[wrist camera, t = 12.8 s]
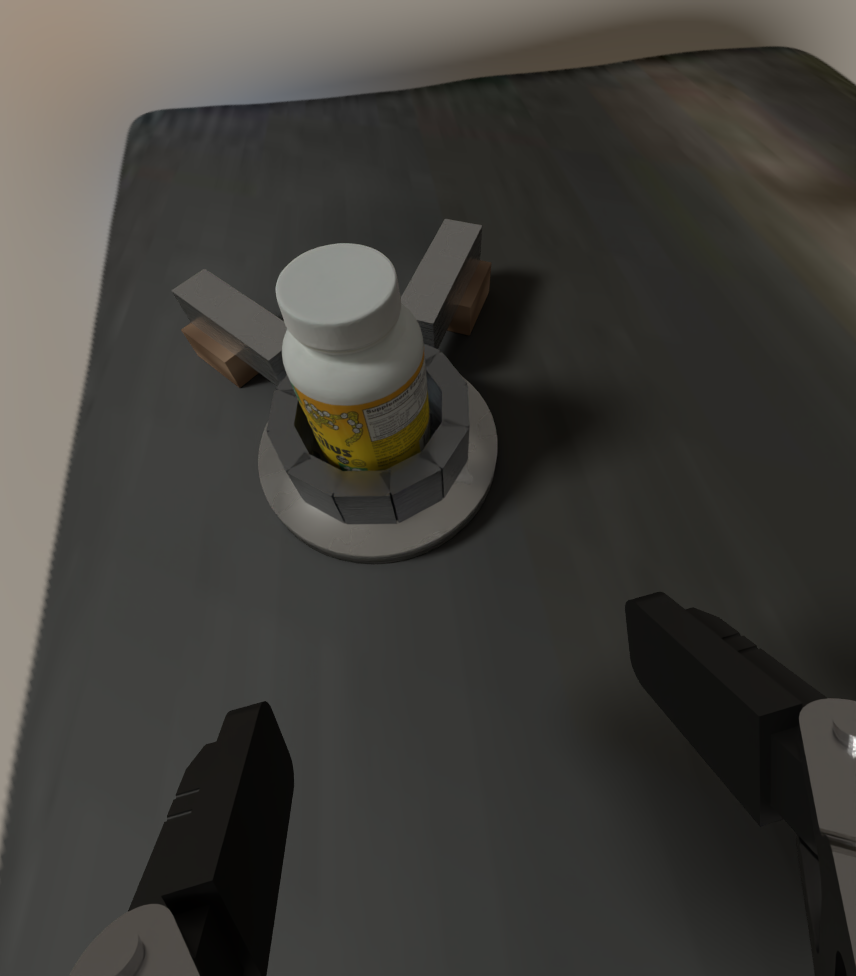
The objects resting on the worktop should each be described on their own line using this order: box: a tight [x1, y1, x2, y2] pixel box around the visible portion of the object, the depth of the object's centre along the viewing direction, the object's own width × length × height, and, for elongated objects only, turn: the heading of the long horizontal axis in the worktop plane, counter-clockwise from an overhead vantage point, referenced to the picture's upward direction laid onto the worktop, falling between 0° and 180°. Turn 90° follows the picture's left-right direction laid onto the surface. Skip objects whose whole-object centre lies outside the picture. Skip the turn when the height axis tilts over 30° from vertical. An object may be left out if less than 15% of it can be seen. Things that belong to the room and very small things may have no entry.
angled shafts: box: [172, 219, 482, 386], centre depth 27 cm, size 14×14×2 cm
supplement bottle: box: [276, 243, 431, 471], centre depth 20 cm, size 5×5×10 cm
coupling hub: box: [258, 344, 497, 564], centre depth 23 cm, size 12×12×4 cm
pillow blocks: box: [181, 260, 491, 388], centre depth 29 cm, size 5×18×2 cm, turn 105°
